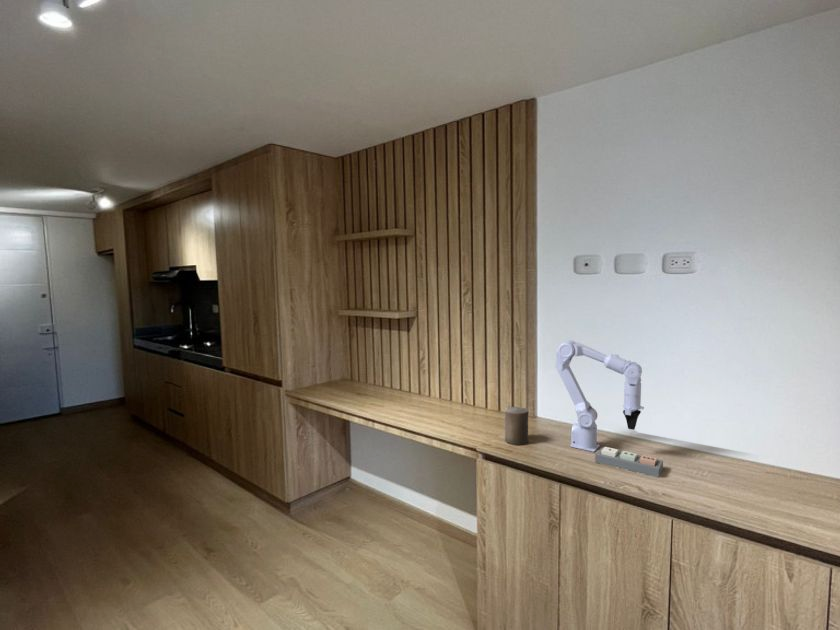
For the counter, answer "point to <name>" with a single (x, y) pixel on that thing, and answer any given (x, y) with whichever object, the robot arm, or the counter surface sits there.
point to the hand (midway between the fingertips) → (631, 428)
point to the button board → (629, 464)
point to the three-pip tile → (648, 460)
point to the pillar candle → (516, 425)
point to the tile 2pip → (628, 456)
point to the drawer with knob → (609, 451)
